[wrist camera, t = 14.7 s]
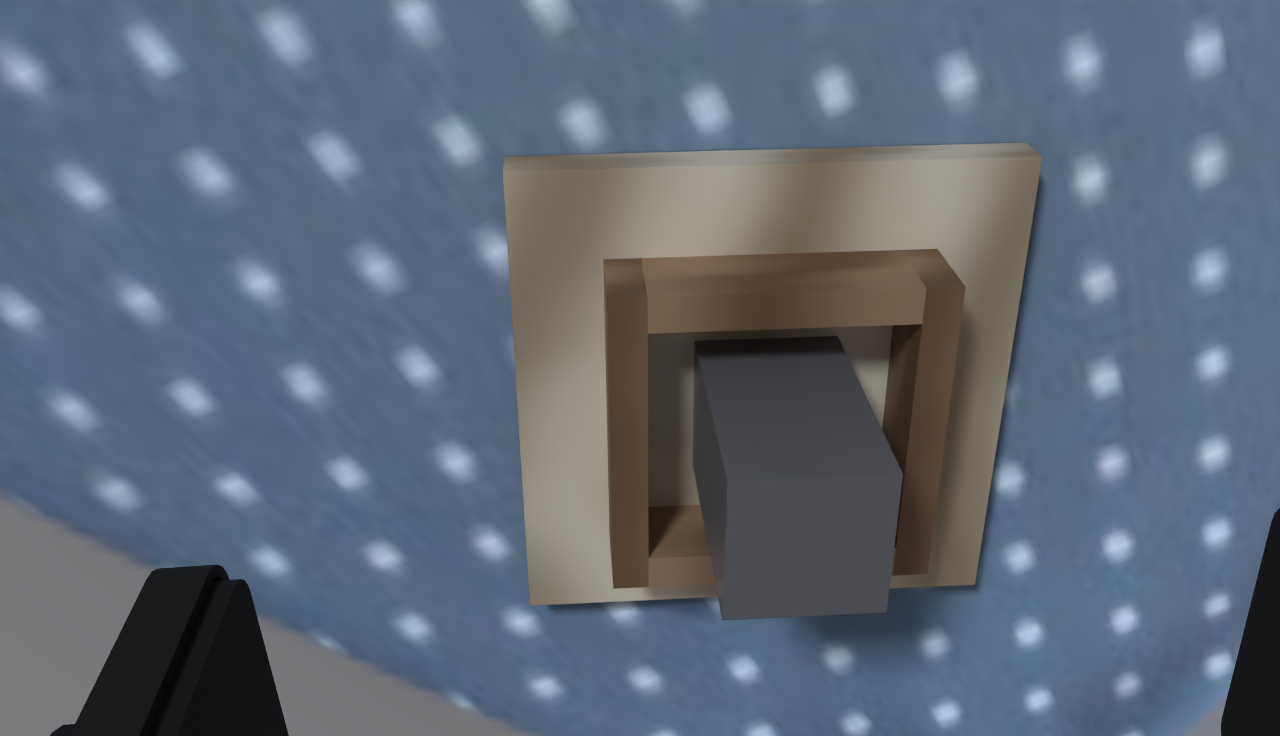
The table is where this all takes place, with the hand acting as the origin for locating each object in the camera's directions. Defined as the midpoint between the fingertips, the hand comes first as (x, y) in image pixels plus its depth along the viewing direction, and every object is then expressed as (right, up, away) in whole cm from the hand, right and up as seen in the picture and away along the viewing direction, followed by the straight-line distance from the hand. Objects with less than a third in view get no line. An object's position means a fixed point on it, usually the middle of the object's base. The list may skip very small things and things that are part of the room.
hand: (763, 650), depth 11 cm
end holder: (+2, +2, +24) cm, 24 cm away
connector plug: (+2, +2, +23) cm, 23 cm away
